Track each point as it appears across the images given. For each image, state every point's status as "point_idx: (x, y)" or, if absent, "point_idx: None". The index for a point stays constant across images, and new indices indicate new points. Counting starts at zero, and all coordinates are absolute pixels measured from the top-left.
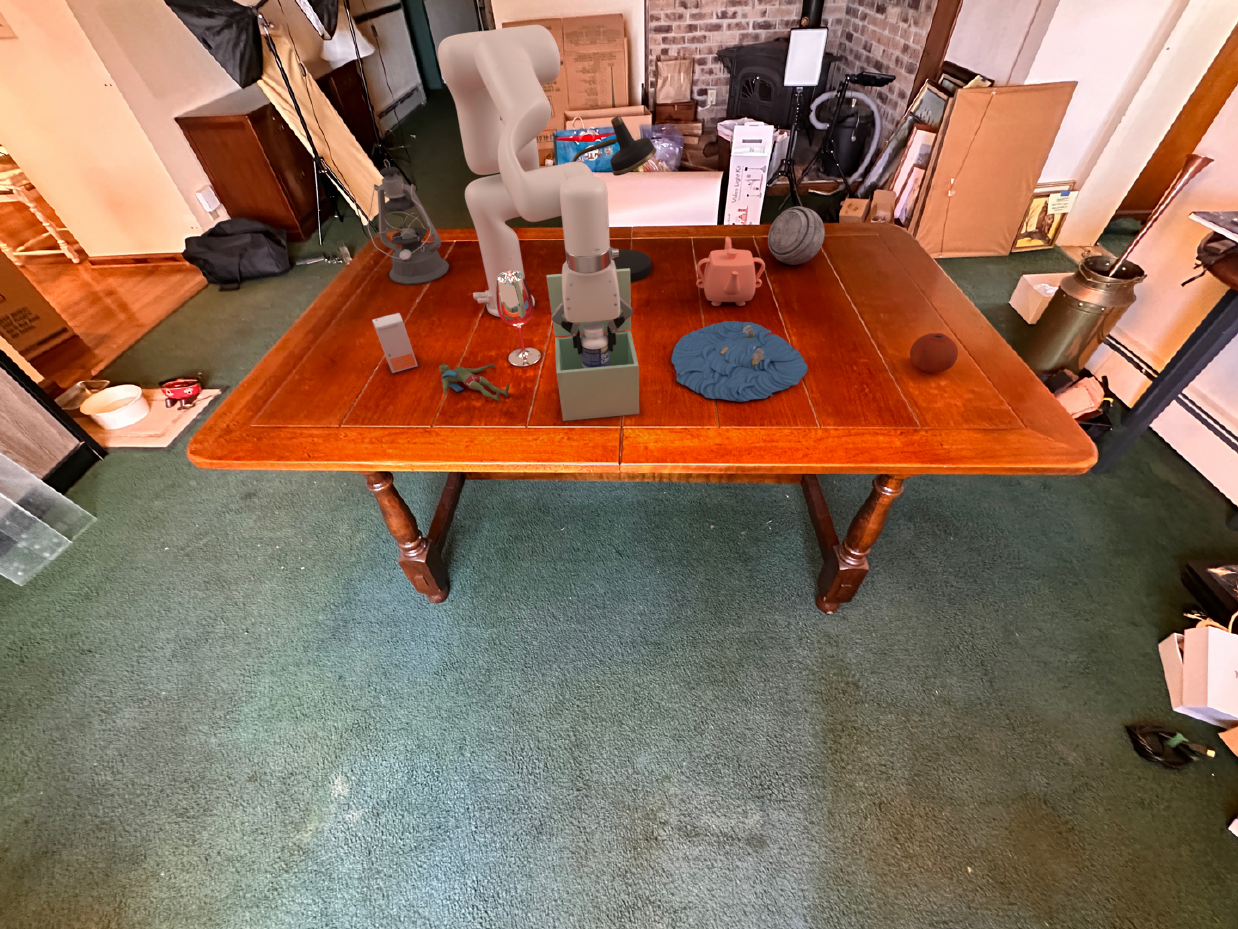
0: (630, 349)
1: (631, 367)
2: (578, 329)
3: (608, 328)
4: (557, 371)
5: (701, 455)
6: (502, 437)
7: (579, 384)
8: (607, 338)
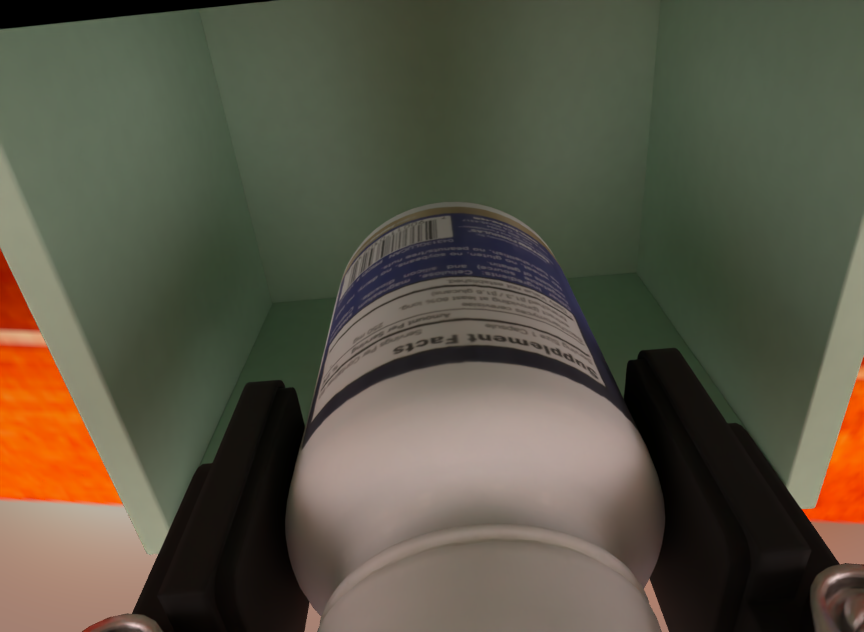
0: (837, 242)
1: None
2: (223, 606)
3: (737, 602)
4: (147, 542)
5: (823, 505)
6: (5, 397)
7: None
8: (653, 568)
